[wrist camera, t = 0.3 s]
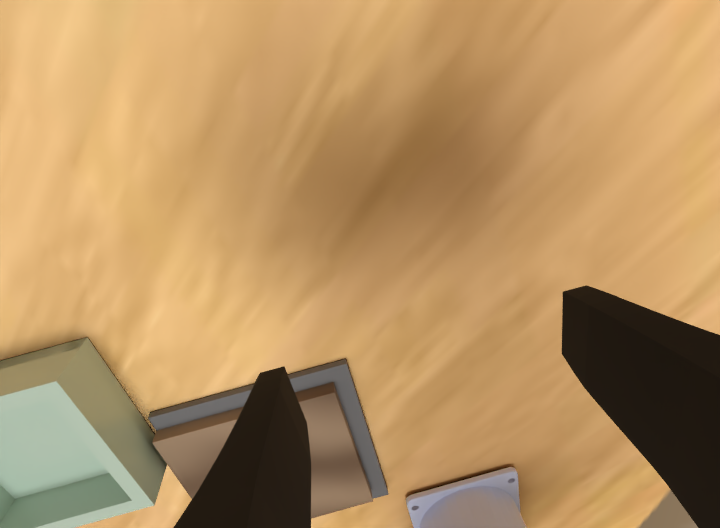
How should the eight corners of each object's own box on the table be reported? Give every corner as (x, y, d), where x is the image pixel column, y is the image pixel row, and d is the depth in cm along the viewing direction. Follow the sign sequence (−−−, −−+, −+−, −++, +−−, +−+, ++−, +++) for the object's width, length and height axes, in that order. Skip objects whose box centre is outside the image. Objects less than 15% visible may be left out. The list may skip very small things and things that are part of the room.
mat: (387, 488, 29) (388, 494, 28) (231, 532, 28) (230, 538, 28) (345, 358, 23) (346, 363, 23) (150, 412, 23) (148, 418, 22)
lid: (371, 489, 28) (386, 576, 23) (225, 530, 28) (211, 626, 23) (333, 381, 23) (343, 464, 18) (156, 430, 23) (122, 526, 18)
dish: (169, 455, 24) (154, 505, 22) (18, 497, 24) (-16, 552, 22) (87, 337, 20) (56, 381, 17) (-98, 387, 20) (-157, 439, 17)
